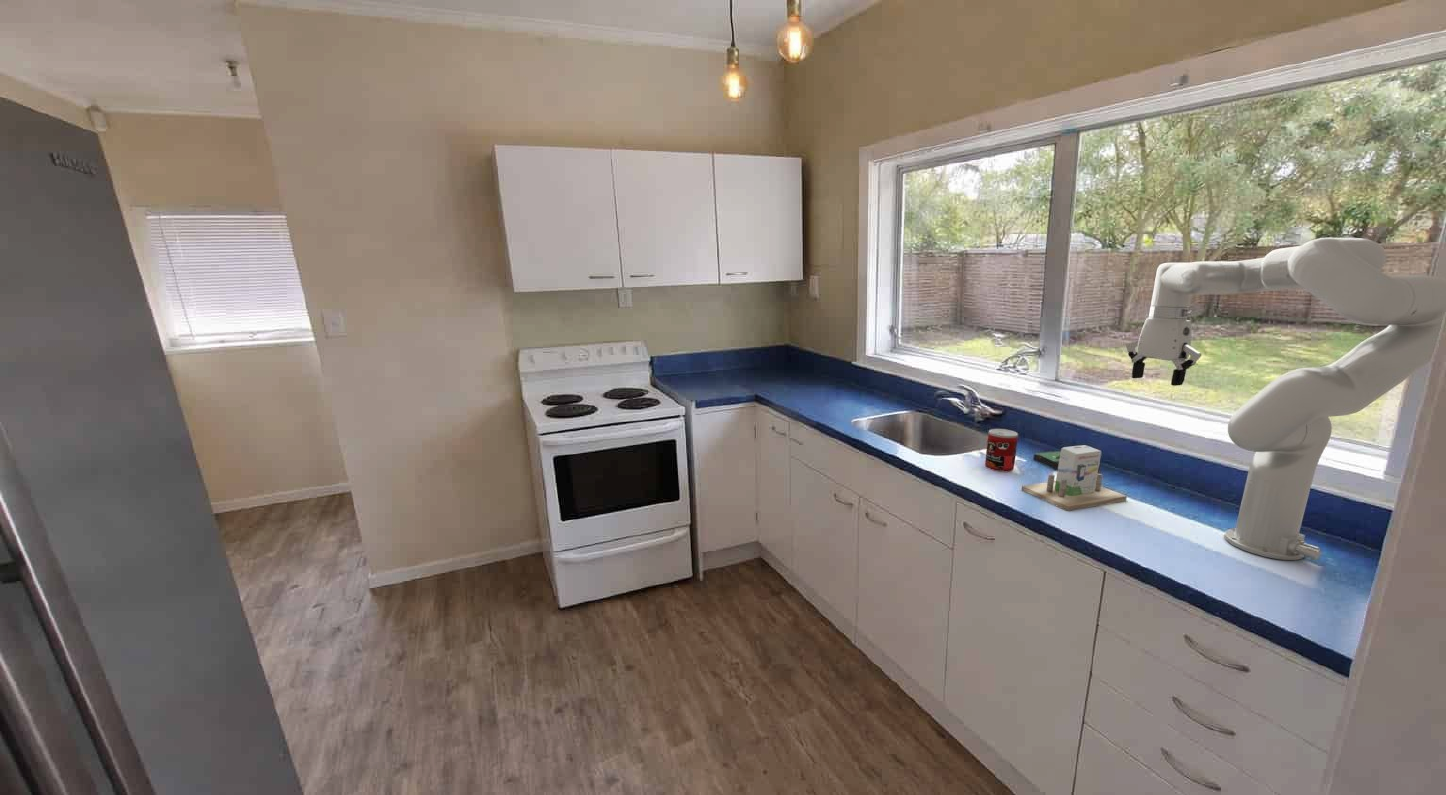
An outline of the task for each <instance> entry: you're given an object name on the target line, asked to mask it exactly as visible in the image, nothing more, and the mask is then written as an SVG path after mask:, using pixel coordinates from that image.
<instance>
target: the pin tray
mask: <svg viewBox="0 0 1446 795" xmlns="http://www.w3.org/2000/svg"><path fill="white" fill-rule="evenodd" d="M1055 477H1056V475H1055V474H1051V473H1049V474H1048V475H1047V481H1045V482H1040V483H1032V484H1026V485H1022V486H1021V491H1022V490H1023V492H1025V493H1027V494H1030V495H1032V496H1034V497H1035V498H1038V499H1040V500H1042V499H1044V500H1046V501H1045V502H1047V501H1048V502H1047V503H1049V502H1050V503H1049V504H1051V503H1052V504H1051V505H1053V504H1054V505H1053V506H1055V505H1057V506H1056V507H1058V508H1060V507H1061V508H1060V509H1063V510H1064V511H1067V512H1068V511H1074V510H1080V509H1086V508H1087V509H1088V508H1092V507H1096V506H1097V507H1098V506H1102V505H1108V504H1113V503H1119V502H1125V501H1127V498H1128V496H1127V495H1125V494H1122V493H1119V492H1118V491H1114V490H1111V489H1109V488H1106V487H1104V486H1102V484H1103V482H1102V481H1103V474H1102V473H1099V474H1098V475H1097V480H1096V486H1095V492H1091V493H1086V494H1080V495H1074V496H1068V495H1066V494H1065V490H1066V484H1067V480H1065V479H1061V480H1060V487H1059V491H1057V490H1055V483H1056V480H1055ZM1044 500H1043V501H1044Z"/></svg>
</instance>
